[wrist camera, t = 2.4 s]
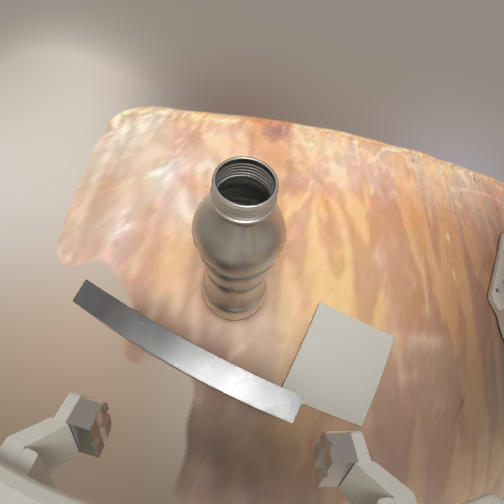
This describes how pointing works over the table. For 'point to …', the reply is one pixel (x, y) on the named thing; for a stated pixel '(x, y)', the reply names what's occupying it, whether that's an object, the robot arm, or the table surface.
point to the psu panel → (188, 355)
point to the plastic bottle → (238, 236)
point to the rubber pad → (339, 365)
